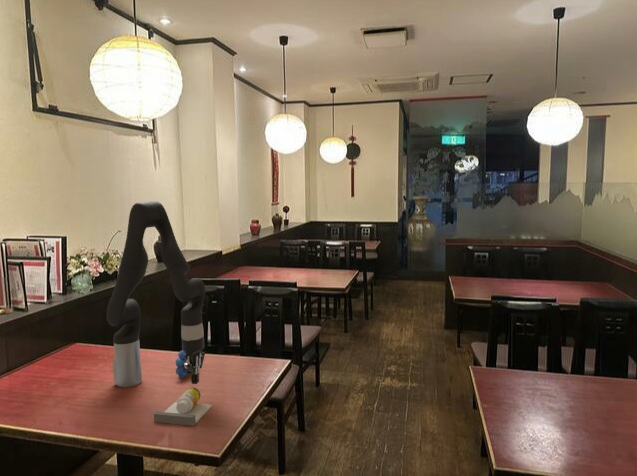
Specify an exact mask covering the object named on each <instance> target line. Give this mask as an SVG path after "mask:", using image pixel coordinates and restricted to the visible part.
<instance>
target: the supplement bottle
mask: <svg viewBox="0 0 637 476" xmlns="http://www.w3.org/2000/svg"><path fill="white" fill-rule="evenodd" d="M201 394H202V393H201V391H200V390H199V389H198V388H197V387H194V386H191V387H189V388H187V389H186V390H185V391H184V393H183V394H181V396H180V397H179V398H178V399H177V401H176V402H177V406H176V409H177V411H178V412H179V413H181V414H184V413H186V412H189V411H190V410H191V409H192V408H193V407H194V406H195V404H198V401H199V400H200V399H201V396H202V395H201Z"/></svg>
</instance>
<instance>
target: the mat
mask: <svg viewBox="0 0 637 476" xmlns="http://www.w3.org/2000/svg"><path fill="white" fill-rule="evenodd" d="M176 406H177V401H175V402H174V403H172V404H171V405H170V406H169V407H167V408H166V410H164V411H158V410H156V411H154V413H153V422H154V423H161V424H171V425H182V426H188V427H190V426H191V427H194V426H195V425H196V424H197V423H198V421H200V420H201V418H203V416H205V414H206V413H207V412H208V411H209V410H210V409H211V408H212V407H213V405H212V404H206V403H205V404H204V403H196V404H195V406H194V407H193V408H192V409H191V410H190V411H189V412H186V413H184V414H181V413H179V412H178V411H177V409H176Z"/></svg>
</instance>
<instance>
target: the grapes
mask: <svg viewBox="0 0 637 476" xmlns="http://www.w3.org/2000/svg"><path fill="white" fill-rule="evenodd" d="M177 356H178V358H176V360H175V366H176V369H175V374H176V375H177V376H178V378H179V379H183V378H184V377H187V376H188V375H189V374H187V373H186V371H185V370H184V368H183V367H182V364H183V363H184V364H185V362H186V352H185V351H183V350H182V349H181V350H180V351H179V353H178V354H177Z"/></svg>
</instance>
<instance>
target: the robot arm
mask: <svg viewBox="0 0 637 476" xmlns="http://www.w3.org/2000/svg"><path fill="white" fill-rule="evenodd" d="M148 228H155V229H156V230H157V233H158V234H159V237H160V256H161V257H160V258H161V261H162V262H163V264H164V266H165V268H166V270H167V272H168V273H169V276H170V280H171V286H172V290H173V294H174V296H175V297H176V299H177V300H179V301H180V302H183V303H185V302H186V303H187V302H188V303H187V304H186V305H185V306H184V307H183V308H181V310H180V319H181V326H180V327H181V329H180V330H181V331H180V333H181V334H180V336H181V348H182V349H181V351H182V350H183V351H185V352H186V362H185V364H184V363H183V364H182V367H183V368H184V370H185V371H186V373H187V374H188V375H190V377H191V379H190V380H191V384H192V385H198V383H200V379H199V378H200V370H201V369H202V368H203V364H204V360H205V356H206V352H205V351H202V350H203V349H204V348H205V337H204V336H205V335H204V325H203V313H202V311H203V307H204V304H205V303H204V302H205V297H206V286H205V283H204V282H203V280H202V279H200V278H197V277H193V278H190V279H186V275H188V273H189V272H190V269H191V268H190V265H189V263H188V261H187V259H186V258H185V256H184V253H183V251H182V250H181V248H180V247H179V244H178V241H177V240H176V237H175V233H174V231H173V227H172V224H171V222H170V218H169V216H168V213H167V210H166V208H165V207H164V205H162V203H161V202H159V201H154V200H153V201H140V202H139V201H138V202H136V203H134V204H133V205H132V207H131V209H130V211H129V215H128V225H127V230H126V231H127V233H126V238H125V239H126V240H125V243H124V247H123V253H122V256H121V259H120V263H119V269H118V274H117V277H116V280H115V285H114V289H113V291H112V294H111V297H110V299H109V302H108V305H107V308H106V321H107V323H108V324H109V325H110V326H111V327H120V326H121V328H119V330H118V331H116V332H115V333H114V334H113V338H112V340H113V350H114V351H113V352H114V360H113V361H112V368H113V370H112V371H113V383H114V385H115V386H117V387H119V388H131V387H135V386H138V385H139V384H140V383H142V381H143V375H142V362H141V361H142V359H141V347H140V333H141V309H140V306H139V303H138V302H137V300H135V298H129V297H130V296H131V295H132V293H133V292H134V291H135V289H136V288H137V287H138V285H140V283H141V282H142V281H143V279H144V277H145V274H146V273H147V268H148V265H149V255H148V253H147V250H146V248H145V245H144V235H145V233H146V229H148Z"/></svg>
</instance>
